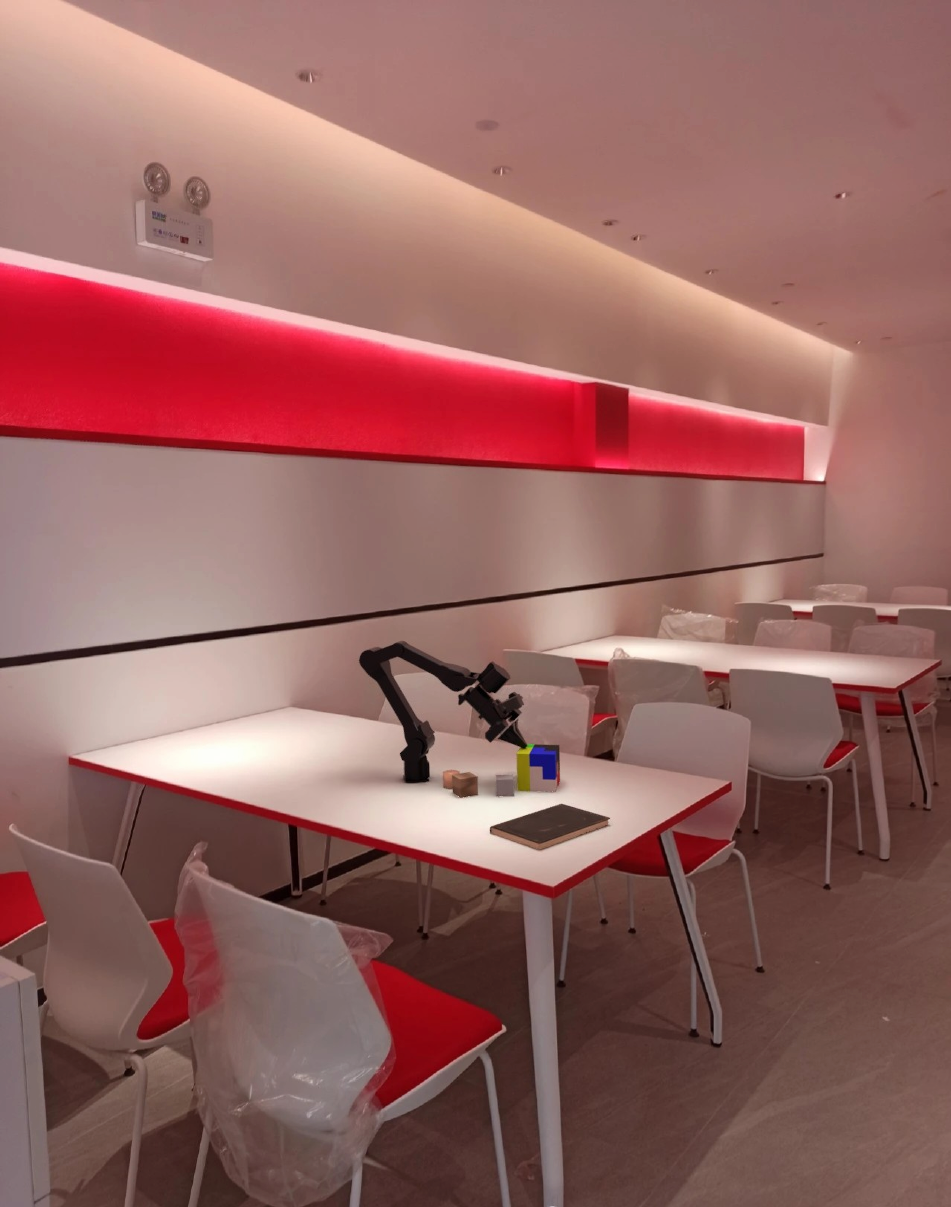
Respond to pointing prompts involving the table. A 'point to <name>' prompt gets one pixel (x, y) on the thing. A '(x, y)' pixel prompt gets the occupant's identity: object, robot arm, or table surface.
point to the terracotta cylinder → (448, 778)
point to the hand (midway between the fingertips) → (526, 747)
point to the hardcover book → (549, 826)
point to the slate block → (504, 785)
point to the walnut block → (465, 784)
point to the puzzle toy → (538, 768)
